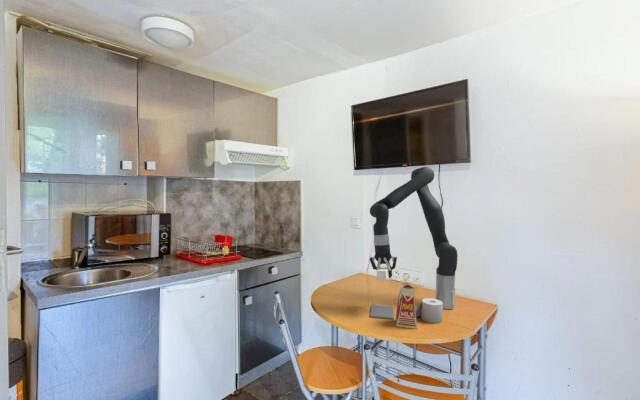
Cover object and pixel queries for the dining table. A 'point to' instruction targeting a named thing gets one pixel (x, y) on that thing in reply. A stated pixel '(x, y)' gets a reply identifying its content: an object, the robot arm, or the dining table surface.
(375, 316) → the mat
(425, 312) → the toilet tissue
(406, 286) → the milk carton
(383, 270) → the block
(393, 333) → the dining table surface
